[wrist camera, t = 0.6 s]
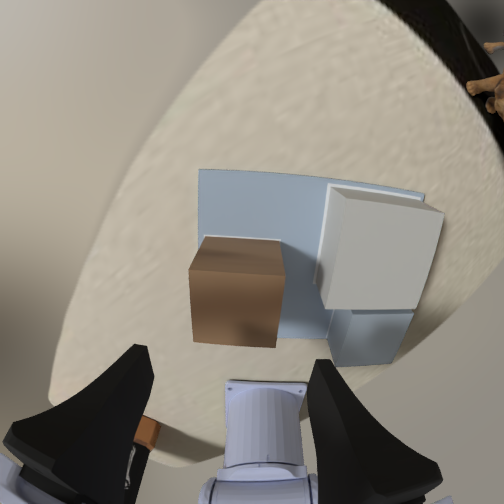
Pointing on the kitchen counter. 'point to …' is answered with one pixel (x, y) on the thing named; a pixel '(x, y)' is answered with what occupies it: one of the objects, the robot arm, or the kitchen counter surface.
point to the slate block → (367, 336)
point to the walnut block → (237, 291)
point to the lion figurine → (491, 84)
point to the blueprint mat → (280, 230)
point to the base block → (376, 250)
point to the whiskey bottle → (140, 457)
